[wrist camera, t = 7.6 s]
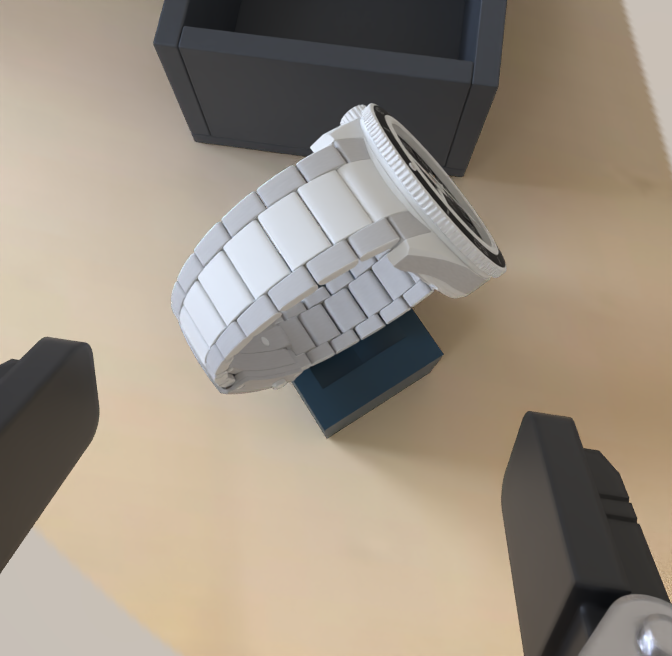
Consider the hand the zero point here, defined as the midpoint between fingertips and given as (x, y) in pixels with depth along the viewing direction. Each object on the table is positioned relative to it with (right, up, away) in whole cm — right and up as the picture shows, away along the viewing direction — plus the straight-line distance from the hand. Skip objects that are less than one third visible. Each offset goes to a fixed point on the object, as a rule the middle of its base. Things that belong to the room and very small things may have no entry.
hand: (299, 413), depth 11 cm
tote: (+1, +14, +14) cm, 20 cm away
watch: (+1, +1, +11) cm, 11 cm away
